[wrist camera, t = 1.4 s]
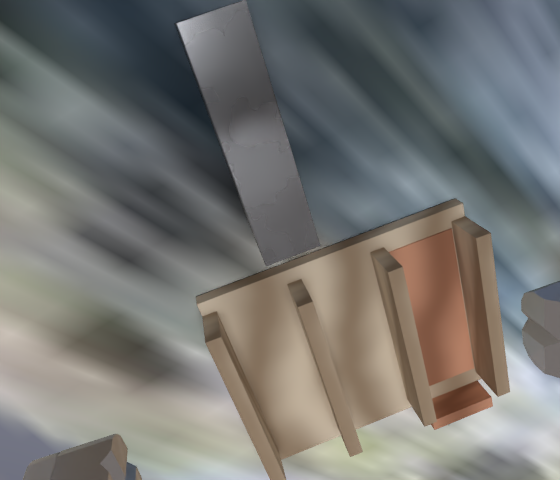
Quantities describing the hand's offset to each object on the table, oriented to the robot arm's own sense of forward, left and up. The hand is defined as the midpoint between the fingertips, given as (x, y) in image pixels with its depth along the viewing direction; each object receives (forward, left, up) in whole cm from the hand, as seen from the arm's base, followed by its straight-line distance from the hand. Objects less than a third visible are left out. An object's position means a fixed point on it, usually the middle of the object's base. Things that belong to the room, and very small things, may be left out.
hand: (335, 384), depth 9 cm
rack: (-4, +17, -22) cm, 28 cm away
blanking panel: (-1, -1, -22) cm, 22 cm away
